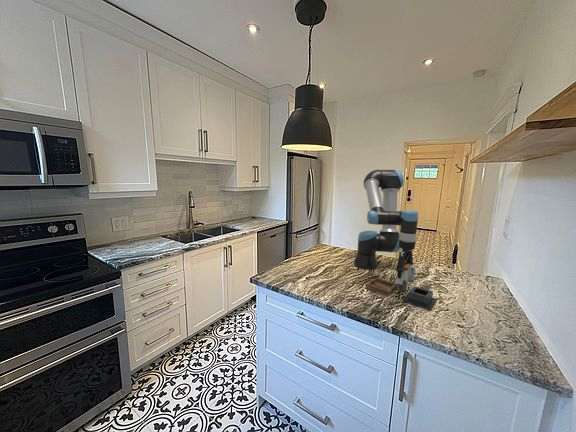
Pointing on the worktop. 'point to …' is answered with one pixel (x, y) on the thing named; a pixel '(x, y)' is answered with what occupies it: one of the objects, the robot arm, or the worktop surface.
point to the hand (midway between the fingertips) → (403, 279)
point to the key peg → (404, 278)
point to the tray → (381, 286)
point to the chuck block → (420, 298)
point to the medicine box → (411, 274)
